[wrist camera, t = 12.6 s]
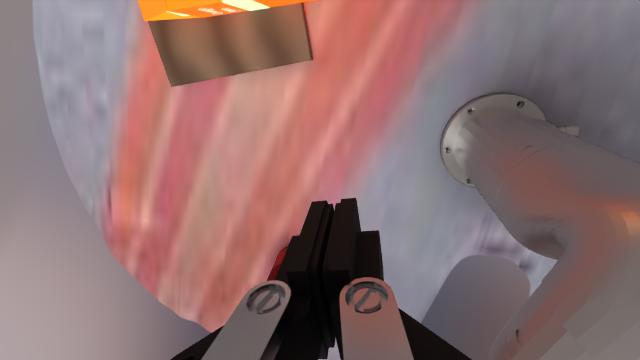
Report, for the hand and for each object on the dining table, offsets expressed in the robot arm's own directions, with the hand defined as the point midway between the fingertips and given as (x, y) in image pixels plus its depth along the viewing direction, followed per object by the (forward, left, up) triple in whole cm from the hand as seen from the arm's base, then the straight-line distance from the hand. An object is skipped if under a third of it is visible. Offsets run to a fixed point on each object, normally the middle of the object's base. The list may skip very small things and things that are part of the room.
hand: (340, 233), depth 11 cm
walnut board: (+16, -14, -31) cm, 37 cm away
